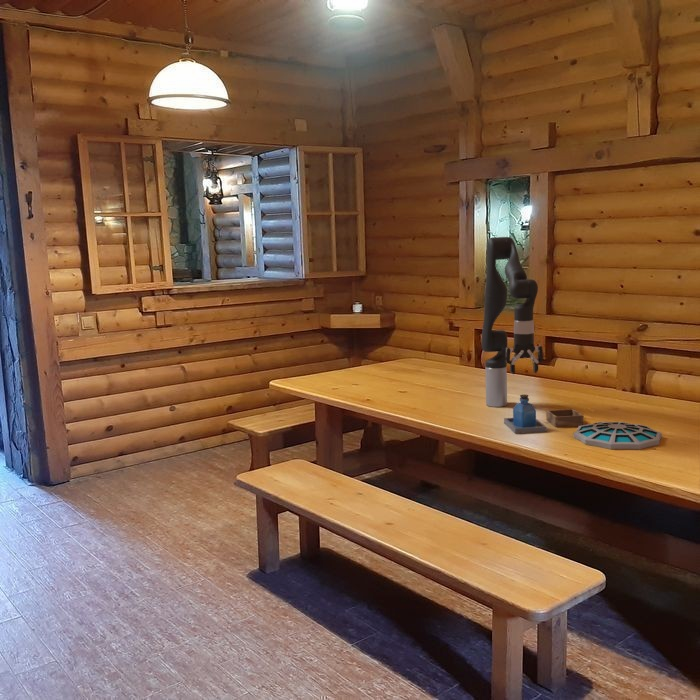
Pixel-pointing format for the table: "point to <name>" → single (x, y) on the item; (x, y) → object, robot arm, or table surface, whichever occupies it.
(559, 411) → the holder
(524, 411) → the perfume bottle
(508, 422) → the tray
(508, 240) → the robot arm
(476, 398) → the table surface
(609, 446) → the decorative platform
